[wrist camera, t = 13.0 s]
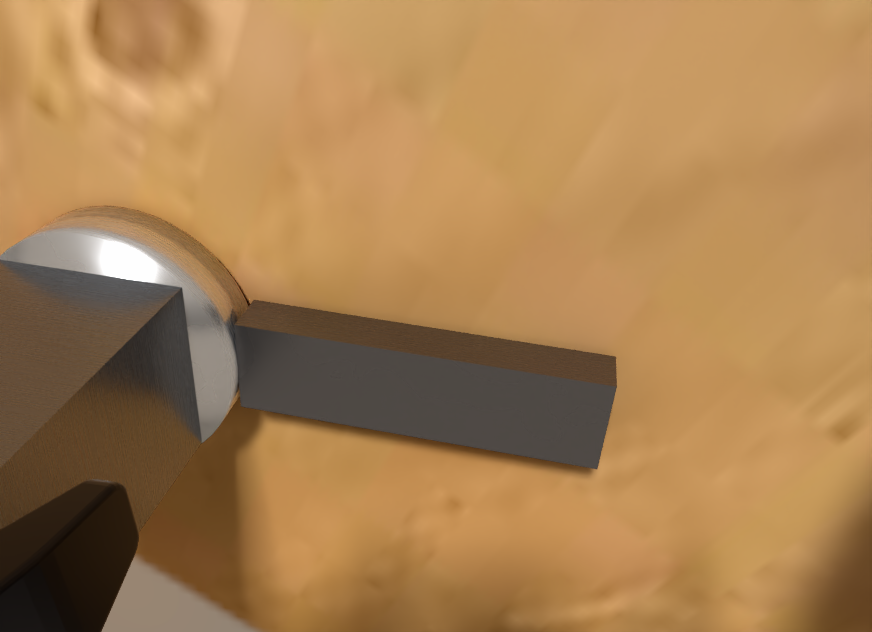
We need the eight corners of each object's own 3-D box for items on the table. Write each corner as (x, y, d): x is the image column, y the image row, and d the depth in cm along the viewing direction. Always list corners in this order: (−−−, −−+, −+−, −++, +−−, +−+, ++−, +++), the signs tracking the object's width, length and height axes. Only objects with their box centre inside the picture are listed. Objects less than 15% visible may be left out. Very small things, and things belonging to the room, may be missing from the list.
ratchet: (50, 399, 27) (-40, 485, 23) (-2, 189, 23) (-122, 253, 19) (583, 495, 25) (580, 609, 21) (633, 281, 20) (640, 374, 17)
